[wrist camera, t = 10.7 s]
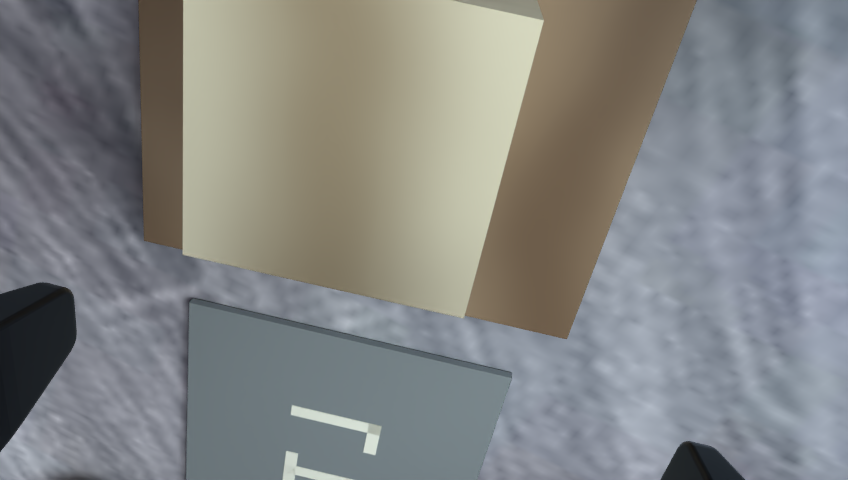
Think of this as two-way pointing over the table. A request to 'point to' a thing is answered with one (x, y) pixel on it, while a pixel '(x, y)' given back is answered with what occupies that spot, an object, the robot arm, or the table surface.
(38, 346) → the robot arm
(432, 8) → the ash block
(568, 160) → the walnut board
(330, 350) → the mat
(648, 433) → the table surface
